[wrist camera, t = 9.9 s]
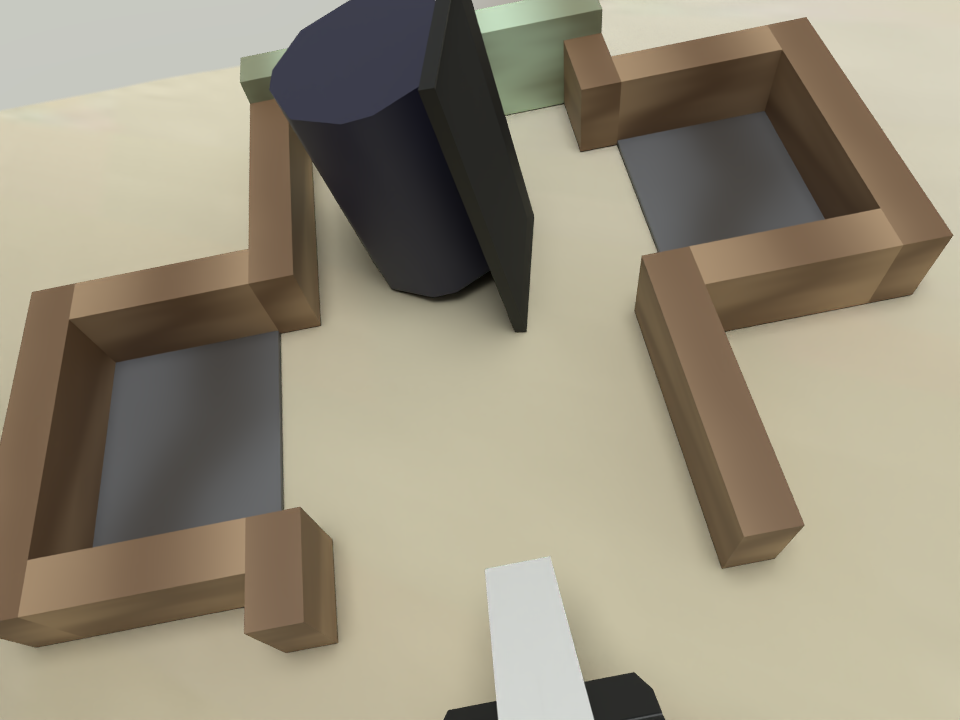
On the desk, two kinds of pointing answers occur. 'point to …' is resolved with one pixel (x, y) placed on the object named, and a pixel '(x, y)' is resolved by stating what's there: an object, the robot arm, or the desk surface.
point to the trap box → (295, 305)
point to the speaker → (413, 143)
